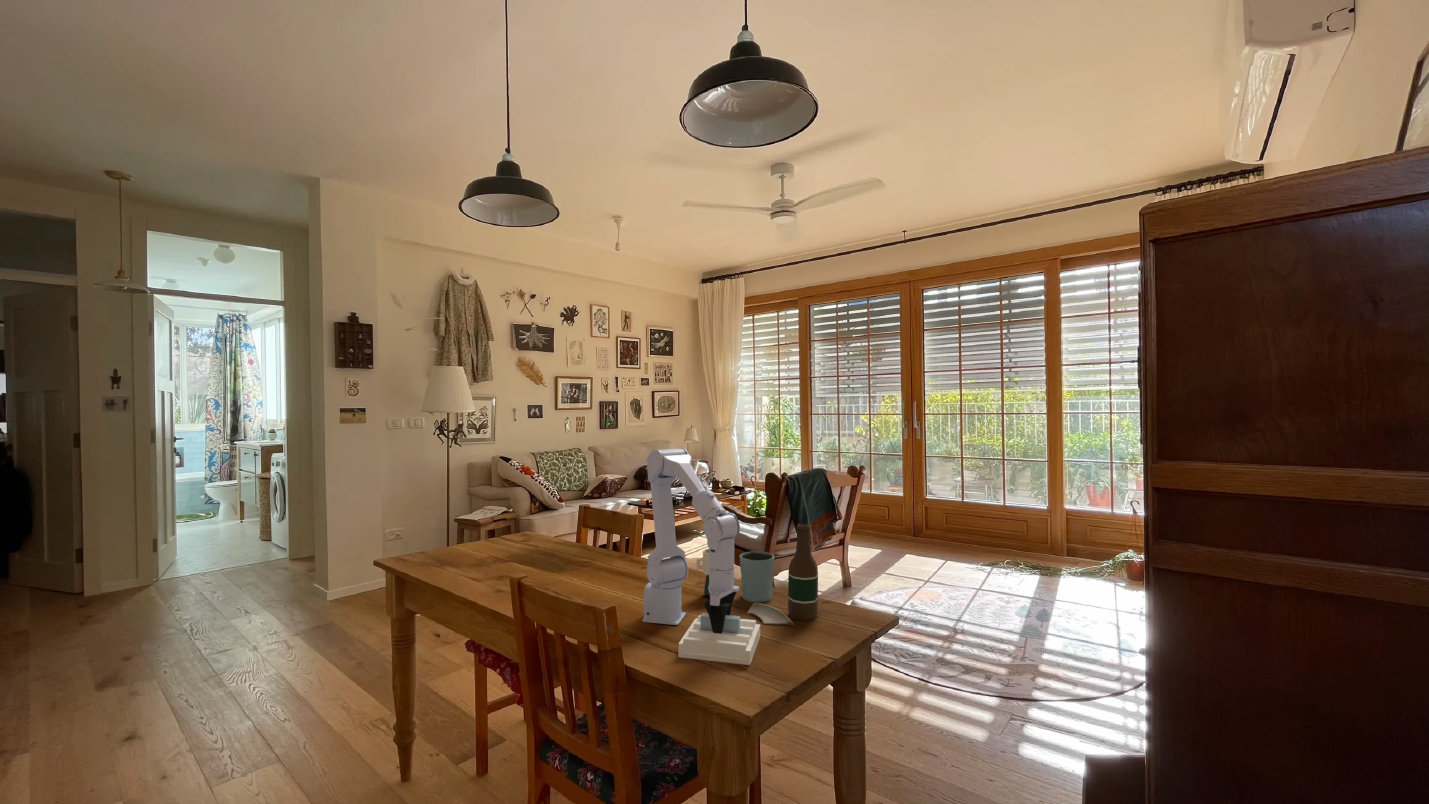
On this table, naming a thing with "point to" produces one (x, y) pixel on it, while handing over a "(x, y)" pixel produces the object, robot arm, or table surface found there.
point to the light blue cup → (757, 576)
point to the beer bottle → (803, 578)
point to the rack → (721, 643)
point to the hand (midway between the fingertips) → (721, 626)
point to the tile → (730, 623)
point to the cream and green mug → (705, 569)
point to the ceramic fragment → (769, 615)
